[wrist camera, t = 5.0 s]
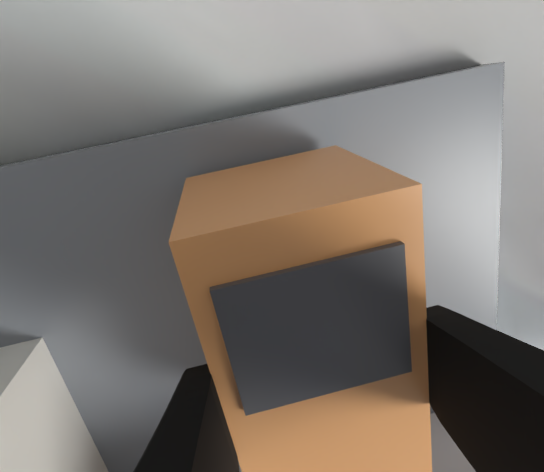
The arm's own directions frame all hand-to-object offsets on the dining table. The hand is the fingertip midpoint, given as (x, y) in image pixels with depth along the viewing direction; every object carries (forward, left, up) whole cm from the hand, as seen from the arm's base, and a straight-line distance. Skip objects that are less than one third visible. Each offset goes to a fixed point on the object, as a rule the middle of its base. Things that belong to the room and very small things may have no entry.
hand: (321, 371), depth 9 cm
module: (0, 0, -4) cm, 4 cm away
